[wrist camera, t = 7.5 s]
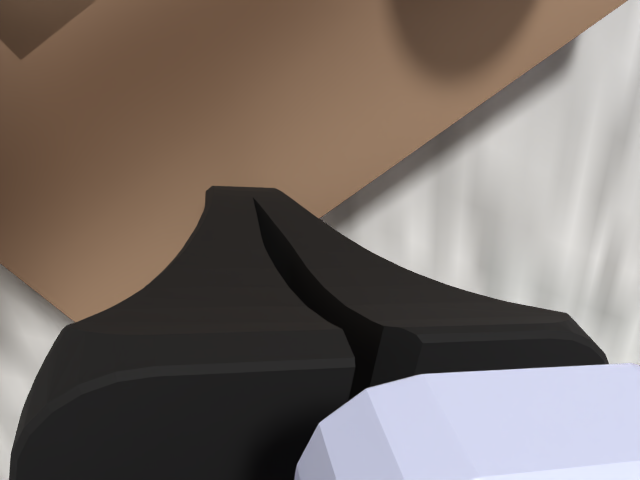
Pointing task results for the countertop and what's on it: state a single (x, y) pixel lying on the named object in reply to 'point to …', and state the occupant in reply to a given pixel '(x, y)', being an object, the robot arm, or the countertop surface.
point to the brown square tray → (226, 114)
